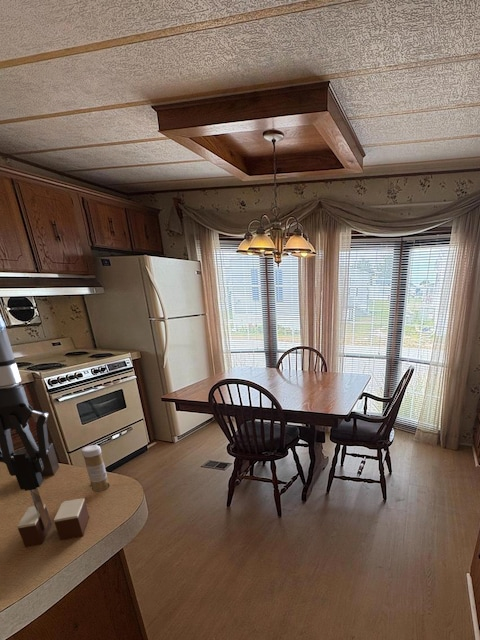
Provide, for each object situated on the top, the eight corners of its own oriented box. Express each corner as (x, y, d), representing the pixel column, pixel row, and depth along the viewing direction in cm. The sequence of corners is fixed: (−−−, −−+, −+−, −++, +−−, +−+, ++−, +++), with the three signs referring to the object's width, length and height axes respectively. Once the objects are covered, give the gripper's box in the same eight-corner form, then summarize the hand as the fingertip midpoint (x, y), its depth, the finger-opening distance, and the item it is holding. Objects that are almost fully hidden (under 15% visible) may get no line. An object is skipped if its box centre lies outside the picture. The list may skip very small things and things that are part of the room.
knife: (42, 523, 83) (17, 449, 76) (52, 521, 84) (28, 448, 76) (38, 530, 81) (12, 455, 73) (49, 528, 82) (24, 454, 74)
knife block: (41, 473, 109) (32, 445, 105) (60, 471, 111) (52, 443, 107) (35, 482, 104) (25, 453, 100) (55, 479, 106) (46, 450, 102)
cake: (68, 521, 88) (62, 501, 85) (89, 517, 90) (84, 497, 87) (60, 540, 81) (53, 519, 79) (83, 536, 83) (77, 515, 80)
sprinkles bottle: (98, 484, 104) (87, 444, 99) (113, 484, 104) (103, 444, 99) (88, 492, 100) (77, 451, 95) (104, 492, 100) (93, 451, 95)
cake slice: (36, 526, 85) (29, 506, 83) (51, 524, 86) (45, 504, 84) (25, 547, 79) (16, 526, 76) (42, 544, 80) (34, 523, 77)
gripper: (-63, 393, 63) (-18, 500, 72) (38, 387, 69) (67, 487, 78) (-42, 383, 69) (-4, 482, 78) (49, 378, 75) (75, 472, 84)
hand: (32, 485), depth 78 cm, fingers closed on knife, 2 cm apart
